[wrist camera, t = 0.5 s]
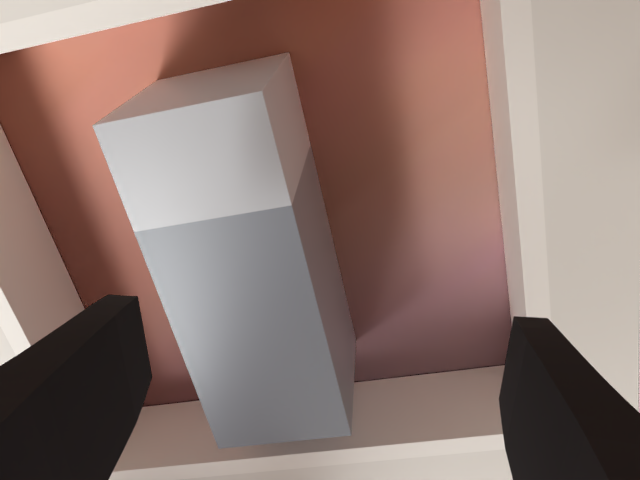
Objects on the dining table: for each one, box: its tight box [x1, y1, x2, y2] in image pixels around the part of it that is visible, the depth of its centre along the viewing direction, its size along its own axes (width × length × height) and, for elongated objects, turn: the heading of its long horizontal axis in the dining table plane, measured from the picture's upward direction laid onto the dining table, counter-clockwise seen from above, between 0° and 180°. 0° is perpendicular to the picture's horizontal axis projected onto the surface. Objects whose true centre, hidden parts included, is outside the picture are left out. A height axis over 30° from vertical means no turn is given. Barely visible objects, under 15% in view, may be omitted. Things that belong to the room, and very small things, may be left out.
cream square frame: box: [0, 0, 640, 480], centre depth 20 cm, size 22×21×4 cm
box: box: [93, 52, 356, 449], centre depth 19 cm, size 4×11×5 cm, turn 12°
